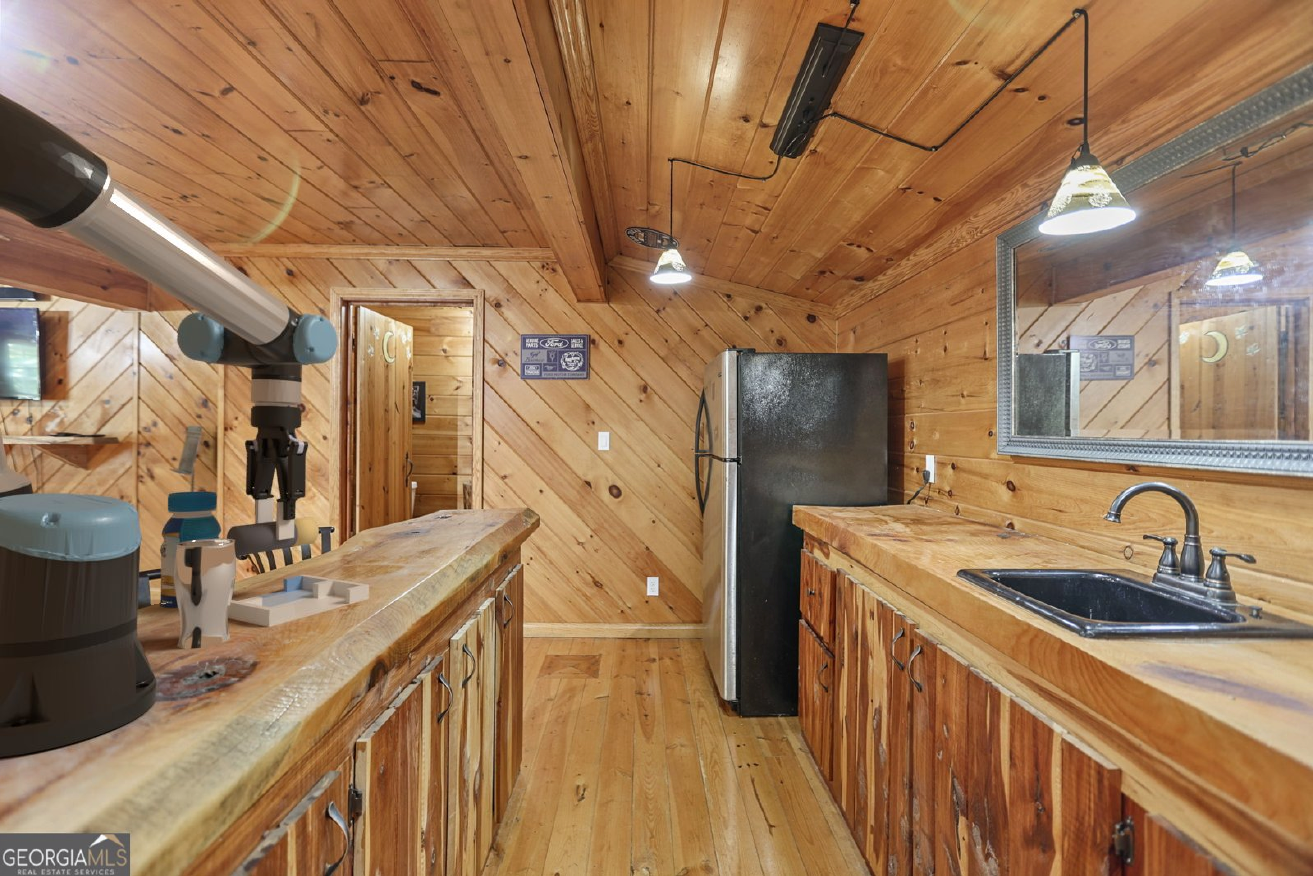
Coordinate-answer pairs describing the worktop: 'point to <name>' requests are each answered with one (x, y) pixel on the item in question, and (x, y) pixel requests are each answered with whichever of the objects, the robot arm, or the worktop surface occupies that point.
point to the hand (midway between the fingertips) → (274, 537)
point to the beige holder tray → (298, 600)
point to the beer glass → (204, 590)
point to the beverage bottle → (185, 533)
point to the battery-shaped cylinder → (271, 536)
